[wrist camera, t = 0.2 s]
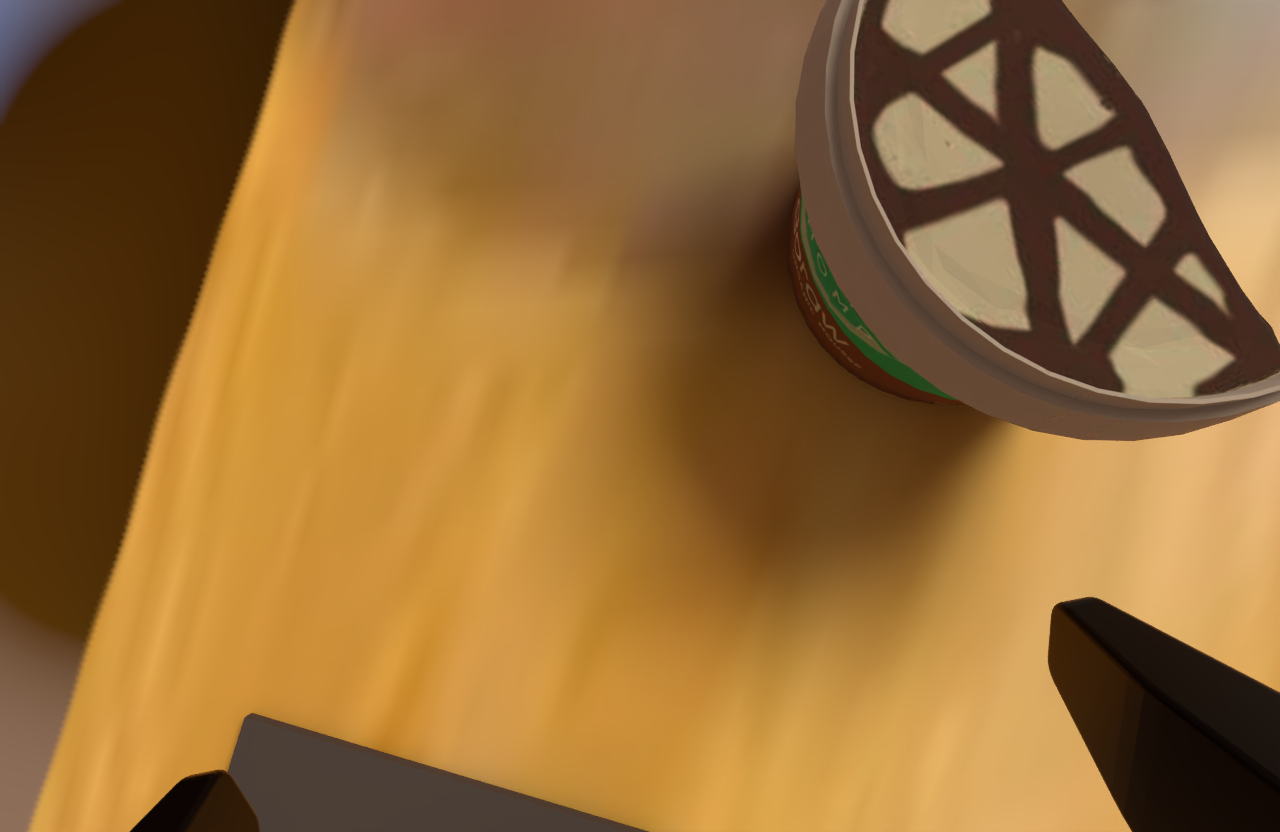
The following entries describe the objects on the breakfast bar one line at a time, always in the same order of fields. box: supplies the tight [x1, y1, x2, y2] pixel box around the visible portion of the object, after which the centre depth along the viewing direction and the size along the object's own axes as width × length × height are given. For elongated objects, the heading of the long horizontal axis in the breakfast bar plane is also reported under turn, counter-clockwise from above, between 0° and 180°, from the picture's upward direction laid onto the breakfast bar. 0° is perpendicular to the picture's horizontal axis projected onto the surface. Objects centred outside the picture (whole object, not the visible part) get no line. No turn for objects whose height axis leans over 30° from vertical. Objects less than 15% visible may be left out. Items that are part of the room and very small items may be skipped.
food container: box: [788, 0, 1280, 441], centre depth 19 cm, size 12×6×10 cm, turn 30°
